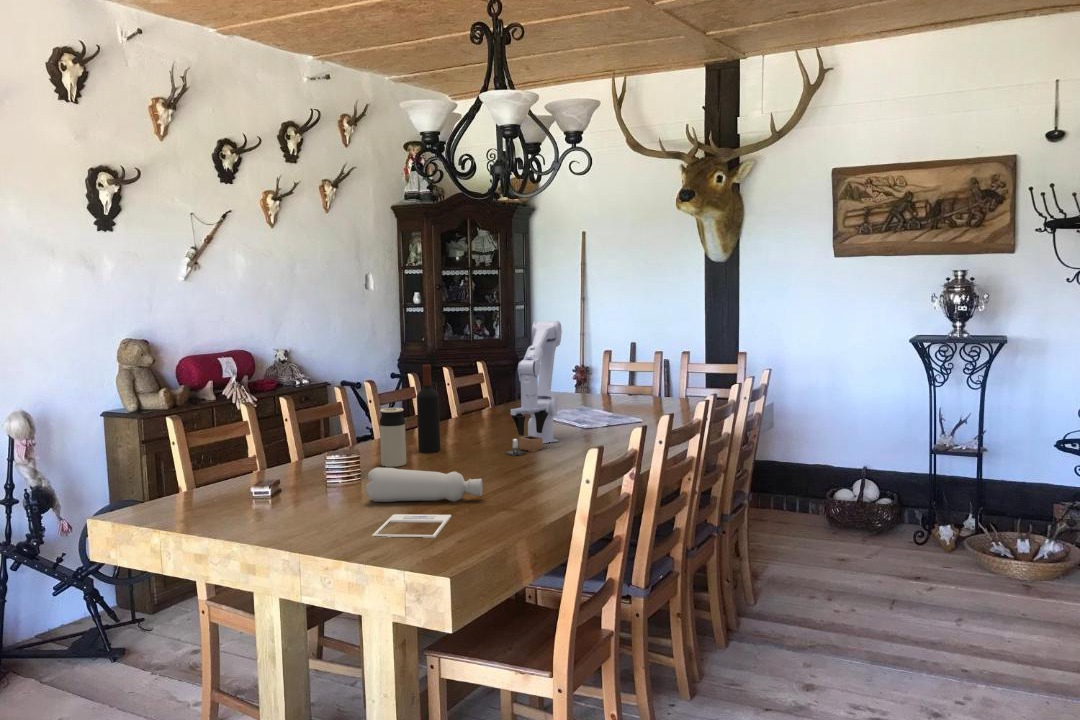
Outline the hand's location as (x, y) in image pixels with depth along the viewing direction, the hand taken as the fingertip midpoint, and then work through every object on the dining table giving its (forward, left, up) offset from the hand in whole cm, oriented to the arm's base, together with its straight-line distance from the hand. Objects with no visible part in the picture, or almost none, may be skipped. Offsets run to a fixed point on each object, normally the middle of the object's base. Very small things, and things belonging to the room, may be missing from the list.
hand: (530, 434), depth 302 cm
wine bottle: (-21, -28, -6) cm, 35 cm away
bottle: (+41, -63, -6) cm, 75 cm away
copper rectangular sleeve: (0, 0, -5) cm, 5 cm away
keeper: (+4, -9, -5) cm, 11 cm away
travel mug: (-8, -48, -6) cm, 49 cm away
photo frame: (+61, -77, -6) cm, 98 cm away
